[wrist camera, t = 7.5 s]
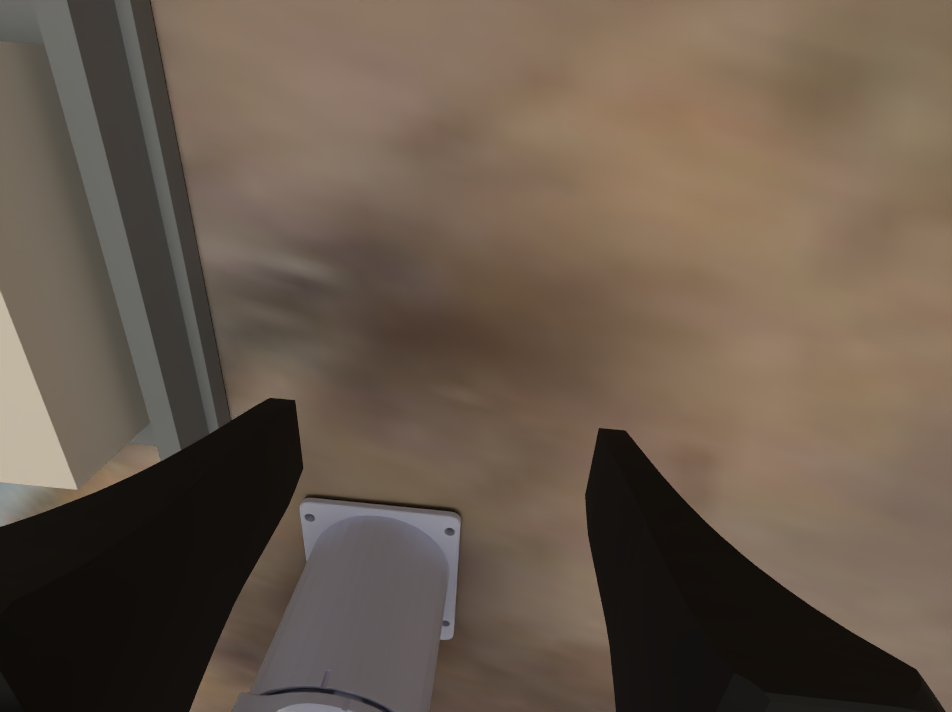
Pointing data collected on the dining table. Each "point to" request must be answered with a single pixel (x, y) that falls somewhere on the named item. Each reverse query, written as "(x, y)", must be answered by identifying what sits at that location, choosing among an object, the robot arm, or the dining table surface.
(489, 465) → the dining table surface
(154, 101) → the grooved grey tray
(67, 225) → the clay bar
